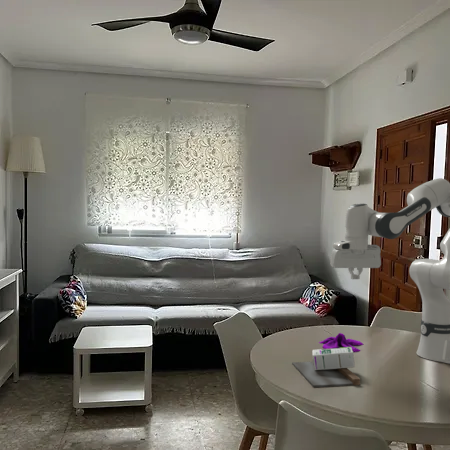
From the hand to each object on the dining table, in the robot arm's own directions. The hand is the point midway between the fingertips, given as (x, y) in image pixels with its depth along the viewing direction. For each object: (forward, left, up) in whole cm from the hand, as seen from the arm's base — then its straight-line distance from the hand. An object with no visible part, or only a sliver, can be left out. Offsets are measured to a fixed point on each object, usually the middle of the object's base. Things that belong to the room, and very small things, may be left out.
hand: (355, 279), depth 181 cm
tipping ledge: (+19, +17, -31) cm, 40 cm away
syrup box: (+8, +17, -26) cm, 32 cm away
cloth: (0, -14, -32) cm, 35 cm away
